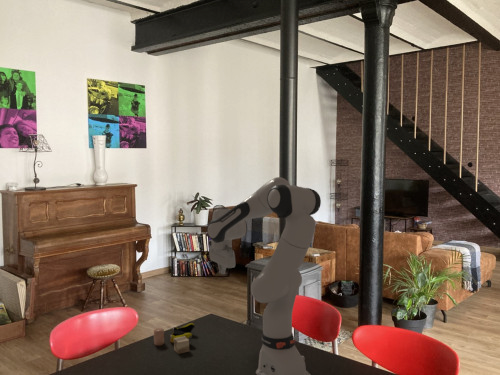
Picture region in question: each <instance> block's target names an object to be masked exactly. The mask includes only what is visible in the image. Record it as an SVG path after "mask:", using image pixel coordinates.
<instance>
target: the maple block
mask: <svg viewBox="0 0 500 375" xmlns="http://www.w3.org/2000/svg"><path fill="white" fill-rule="evenodd" d="M173 350H174V351H175V352H176V354H178V355H180V354H184V353H187V352H190V340H189V339H187V338H186V337H185V336H183V337H178V338H174V343H173Z"/></svg>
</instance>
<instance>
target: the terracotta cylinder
mask: <svg viewBox="0 0 500 375" xmlns="http://www.w3.org/2000/svg"><path fill="white" fill-rule="evenodd" d="M164 344H165V329H164V328H159V327H158V328H154V329H153V345H154V346H158V347H159V346H163V345H164Z"/></svg>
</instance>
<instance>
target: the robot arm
mask: <svg viewBox="0 0 500 375" xmlns="http://www.w3.org/2000/svg"><path fill="white" fill-rule="evenodd" d="M321 201H322V200H321V196H320V194H319V193H318V191H317V190H315V189H312V188H309V187H302V186H298V185H295V184H293V185H291V183H290V182H289V181H288V180H287V179H285V178H284V177H280V176H277V177H274V178H272V179H270V180H269V181H267V182H266V183H264V184H263V185H262V186H261V187H260V188H258V189H257V190H256V191H254V193H252V194H250V195H249V197H247V198H246V199H244V200H243V201H241V202H239V203H238V204H237V205H235V206H234V207H232V208H228V207H222V208H216V209H214V211H213V213H212V219H211V220H210V221H209V222H208V223H209V224H208V226H207V229H206V232H207V236H208V238H210V240H208V242H207V244H208V246H209V247H208V253H209V254H208V255H209V256H208V257H209V259H210V261H211V262H214V263H216V264H217V267H218V273H219V274H221V275H226V270H227V269H232V268H235V267H236V266H237V265H236V264H237V263H236V254H235V251H234V250H233V244H232V242H233V241H234V240H237V239H242V238H245V236H246V235H247V232H248V223H247V220H252V219H257V218H263V217H264V218H265V217H267V216H270V215H271V214H273V213H274V214H275V215H276V216H277V218H279V219H283V220H285V225H284V228H283V231H282V233H281V235H280V238H279V240H278V243H277V244H276V247H275V250H274V251H273V254H272V255H271V257H270V259H268V261H267V263H266V264H265V265H264V267H263V269H262V270H261V271H260V273H259V274H258V275H257V276H256V277H255V278H254V279H253V281H252V282H251V285H250V292H251V294H252V297H253V298H254V300H255V301H257V302H258V303H260V304H266V307H265V308H264V310H263V314H262V332H261V343H262V346H261V348H260V351H259V356H258V367H257V369H256V370H255V374H256V375H311V373H310V372H309V371H308V370H306V368H307V367H306V362H305V360H306V359H305V356H304V355H301V353H300V352H299V350H298V349H297V346H296V345H295V343H297V342H296V339H295V337H294V334H293V325H292V324H293V310H294V306H295V305H294V304H295V301H296V297H297V294H298V291H299V289H300V287H301V285H302V283H303V276H302V273H301V272H300V270H299V268H301V266H302V264H303V262H304V260H305V257H306V254H307V253H308V251H309V248H310V245H311V243H312V240H313V237H314V234H315V230H316V220H315V218H314V217H313V216H312V215H314V214H316V213H317V212H319V210H320V209H321V208H320V207H321V205H322V202H321Z"/></svg>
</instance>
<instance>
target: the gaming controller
mask: <svg viewBox="0 0 500 375" xmlns="http://www.w3.org/2000/svg"><path fill="white" fill-rule="evenodd" d="M195 328H196V327H195V323H193V322H191V323H188V324H185V325H183V326H181V327H180V328H178V327H173V328H172V331H173V332H172V334H169V336H170V342H171V343H172V344H174V338H178V337H183V336H185V337H186V338H187V339H189V341H190V340H191V339H192V338H193V334H192V332H193V331H194V329H195Z"/></svg>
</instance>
